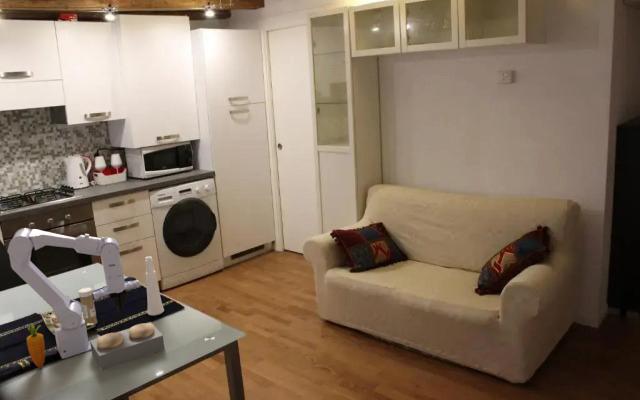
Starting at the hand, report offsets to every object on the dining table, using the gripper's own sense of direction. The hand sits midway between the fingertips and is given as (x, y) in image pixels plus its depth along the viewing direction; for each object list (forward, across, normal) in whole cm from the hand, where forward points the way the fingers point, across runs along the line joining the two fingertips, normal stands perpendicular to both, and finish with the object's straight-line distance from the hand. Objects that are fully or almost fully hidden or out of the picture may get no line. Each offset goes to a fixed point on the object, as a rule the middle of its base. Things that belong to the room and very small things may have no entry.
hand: (120, 312), depth 187 cm
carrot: (+10, -26, -1) cm, 28 cm away
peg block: (+10, -2, -9) cm, 14 cm away
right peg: (+10, +3, -9) cm, 14 cm away
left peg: (+10, -7, -9) cm, 15 cm away
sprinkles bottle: (+10, -6, +20) cm, 24 cm away
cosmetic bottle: (+11, +16, +14) cm, 24 cm away
